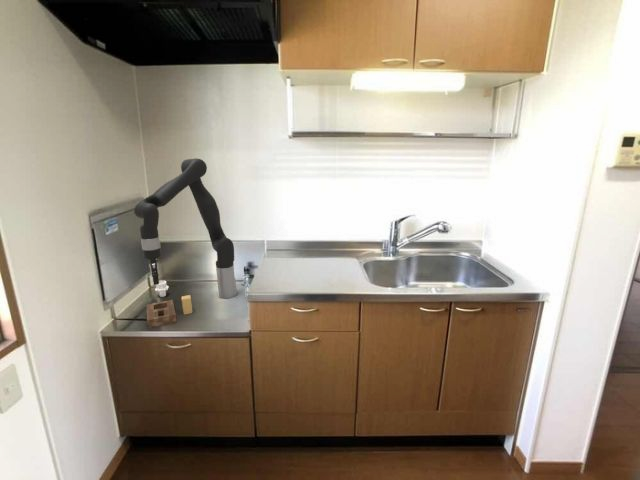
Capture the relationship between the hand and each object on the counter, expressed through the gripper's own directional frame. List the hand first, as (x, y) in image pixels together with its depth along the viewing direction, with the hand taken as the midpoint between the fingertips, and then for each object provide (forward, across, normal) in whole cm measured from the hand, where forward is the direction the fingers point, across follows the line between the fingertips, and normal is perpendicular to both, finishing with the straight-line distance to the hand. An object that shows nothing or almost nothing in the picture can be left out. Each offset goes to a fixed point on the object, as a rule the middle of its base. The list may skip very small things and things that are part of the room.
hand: (156, 281), depth 160 cm
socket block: (+20, +4, 0) cm, 21 cm away
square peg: (+20, +4, -12) cm, 24 cm away
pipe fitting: (+20, +31, -2) cm, 37 cm away
